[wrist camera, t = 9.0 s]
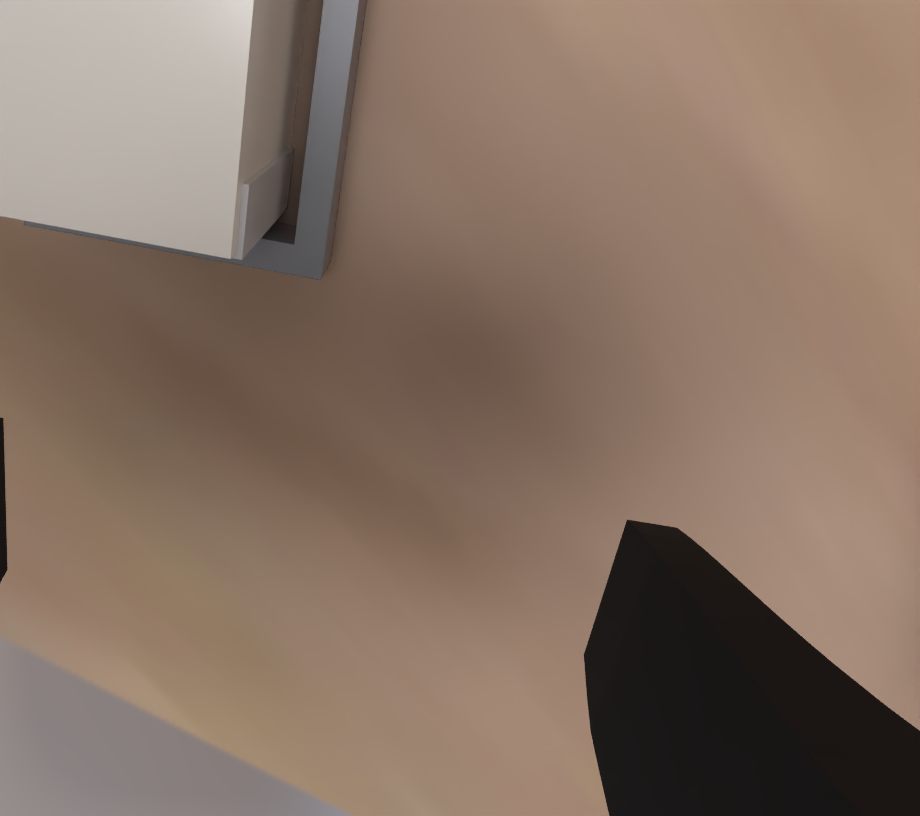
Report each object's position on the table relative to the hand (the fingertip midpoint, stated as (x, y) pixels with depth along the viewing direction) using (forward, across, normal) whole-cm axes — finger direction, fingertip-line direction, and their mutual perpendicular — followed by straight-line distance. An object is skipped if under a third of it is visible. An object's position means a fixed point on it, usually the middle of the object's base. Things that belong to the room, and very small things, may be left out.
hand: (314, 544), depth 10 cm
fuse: (+10, +4, -5) cm, 12 cm away
